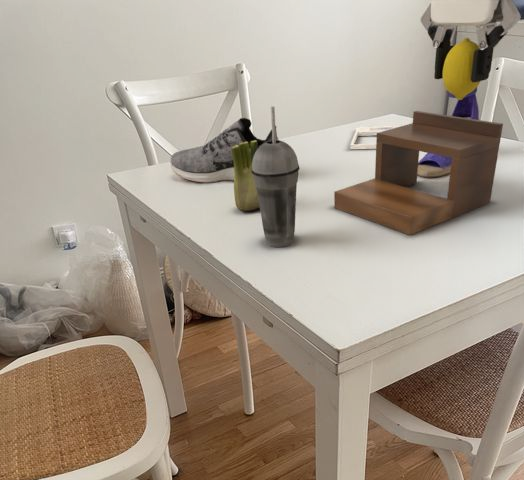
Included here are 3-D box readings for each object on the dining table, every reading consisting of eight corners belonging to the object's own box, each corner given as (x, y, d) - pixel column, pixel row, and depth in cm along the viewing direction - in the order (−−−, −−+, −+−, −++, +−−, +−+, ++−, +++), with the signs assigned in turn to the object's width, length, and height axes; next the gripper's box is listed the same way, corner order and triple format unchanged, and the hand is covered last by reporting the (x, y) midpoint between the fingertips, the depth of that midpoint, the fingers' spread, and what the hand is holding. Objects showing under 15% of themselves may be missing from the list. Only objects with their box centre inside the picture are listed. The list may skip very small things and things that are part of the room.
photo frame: (414, 124, 138) (413, 143, 124) (414, 129, 139) (413, 148, 125) (357, 126, 142) (350, 144, 128) (357, 130, 143) (350, 149, 128)
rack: (410, 181, 106) (416, 110, 99) (490, 202, 94) (503, 123, 86) (334, 207, 97) (333, 132, 90) (410, 235, 85) (417, 150, 77)
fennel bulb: (261, 202, 103) (255, 136, 96) (268, 210, 99) (263, 142, 92) (231, 207, 102) (224, 141, 95) (238, 216, 98) (231, 147, 91)
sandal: (401, 173, 111) (406, 93, 102) (455, 150, 121) (464, 76, 112) (435, 180, 105) (444, 97, 97) (489, 156, 116) (501, 79, 107)
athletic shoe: (184, 169, 126) (175, 114, 119) (293, 172, 117) (291, 113, 110) (165, 182, 118) (154, 124, 111) (280, 186, 110) (276, 124, 103)
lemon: (482, 102, 77) (490, 38, 72) (441, 105, 78) (447, 42, 73) (476, 95, 81) (484, 34, 77) (438, 97, 82) (443, 37, 78)
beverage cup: (254, 251, 84) (241, 115, 73) (260, 232, 90) (250, 104, 79) (300, 250, 83) (295, 112, 72) (304, 232, 89) (299, 101, 78)
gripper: (561, -92, 63) (531, 78, 74) (441, -73, 75) (430, 71, 85) (523, -90, 60) (497, 88, 70) (404, -70, 72) (397, 79, 82)
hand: (460, 77), depth 78 cm, fingers closed on lemon, 5 cm apart
